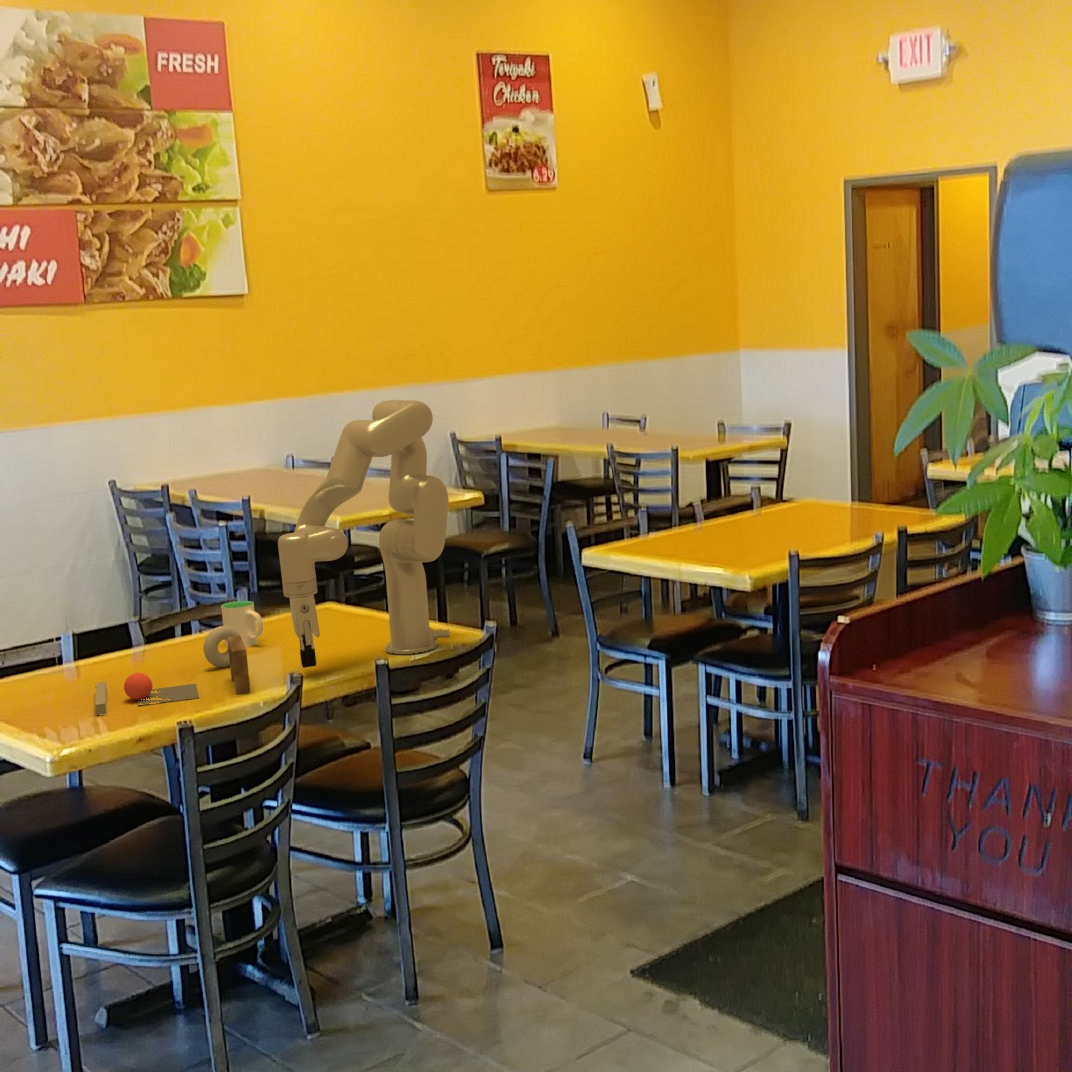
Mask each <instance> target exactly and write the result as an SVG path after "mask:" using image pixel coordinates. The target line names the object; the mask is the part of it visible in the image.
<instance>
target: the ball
mask: <svg viewBox="0 0 1072 1072" xmlns="http://www.w3.org/2000/svg"><path fill="white" fill-rule="evenodd" d="M123 689H124V693H125V695H126V696H127V697H128V698H129V699H131V700H134V701H137V700H141V699H144V698H146V697H147V696H148V695H149V694H150V693H151V691H152V689H153V681H152V679H151V678H150V677H149V676H148V675H147V674H145V673H144V672H134V673H131V674H130V675H128V677H126V679H125V681H124V684H123Z"/></svg>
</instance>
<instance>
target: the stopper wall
mask: <svg viewBox="0 0 1072 1072" xmlns="http://www.w3.org/2000/svg"><path fill="white" fill-rule="evenodd" d="M107 700H108V690H107V682H106V681H100V682H96V686H95V700H94V701H95V702H94V703H95V704H94V706H95V714H96V715H95V716H97V715H100V714H106V715H107V711H106V709H108V708H106V707H108V706H107V704H108V703H107V702H108V701H107Z"/></svg>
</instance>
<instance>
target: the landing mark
mask: <svg viewBox="0 0 1072 1072" xmlns="http://www.w3.org/2000/svg"><path fill="white" fill-rule="evenodd" d="M155 690H156V691H157V692H159V691H160V692H159V693H150V694H149V695H148V696H147V697H146V698H147V699H148V698H149V699H151V698H153V697H154V698H156V696H157V697H158V698H161V699H163V700H146V698H144V699H145V700H143V699H142V700H136V701H137V705H138V704H140V703H141V704H143V705H145V706H147V705H146V704H147V703H148V704H149V703H151V702H153V703H154V702H156V703H157V701H158V702H160V704H164V703H163V702H168V703H173V702H172V701H175V702H181V701H182V700H183V701H187V700H186V699H190V700H195V699H196V698H198V699H200V696H199V692H198V687H197V683H189V684H183V685H181V684H180V685H176V686H175V685H174V686H168V687H160V688H159V687H158V688H152V691H153V692H154V691H155ZM161 692H162V693H161ZM150 697H151V698H150ZM167 698H168V699H170V700H168V699H167ZM156 699H157V698H156ZM164 699H166V700H164ZM196 700H197V699H196Z"/></svg>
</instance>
